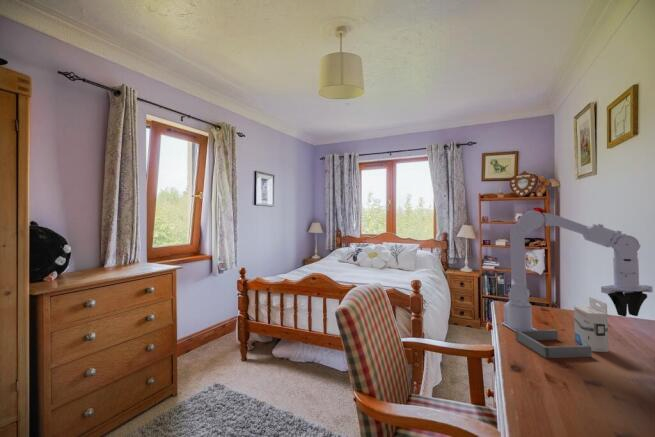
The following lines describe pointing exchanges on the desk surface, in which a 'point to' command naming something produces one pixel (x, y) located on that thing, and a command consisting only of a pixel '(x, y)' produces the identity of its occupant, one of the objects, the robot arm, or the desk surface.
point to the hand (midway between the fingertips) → (627, 315)
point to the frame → (550, 351)
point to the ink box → (592, 325)
